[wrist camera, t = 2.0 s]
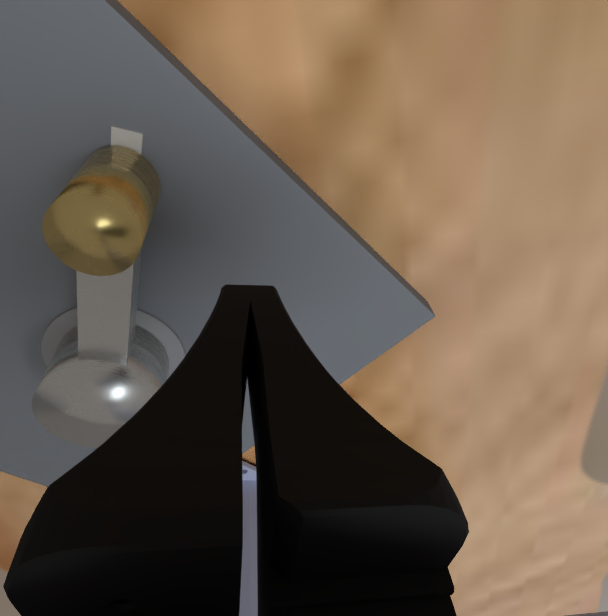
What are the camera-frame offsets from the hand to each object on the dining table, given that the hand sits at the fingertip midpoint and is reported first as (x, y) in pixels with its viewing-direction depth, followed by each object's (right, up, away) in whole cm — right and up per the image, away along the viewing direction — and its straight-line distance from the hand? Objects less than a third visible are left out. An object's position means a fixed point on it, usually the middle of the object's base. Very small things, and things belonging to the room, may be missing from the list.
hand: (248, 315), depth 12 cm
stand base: (-8, -1, +10) cm, 13 cm away
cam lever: (-6, +1, +7) cm, 9 cm away
